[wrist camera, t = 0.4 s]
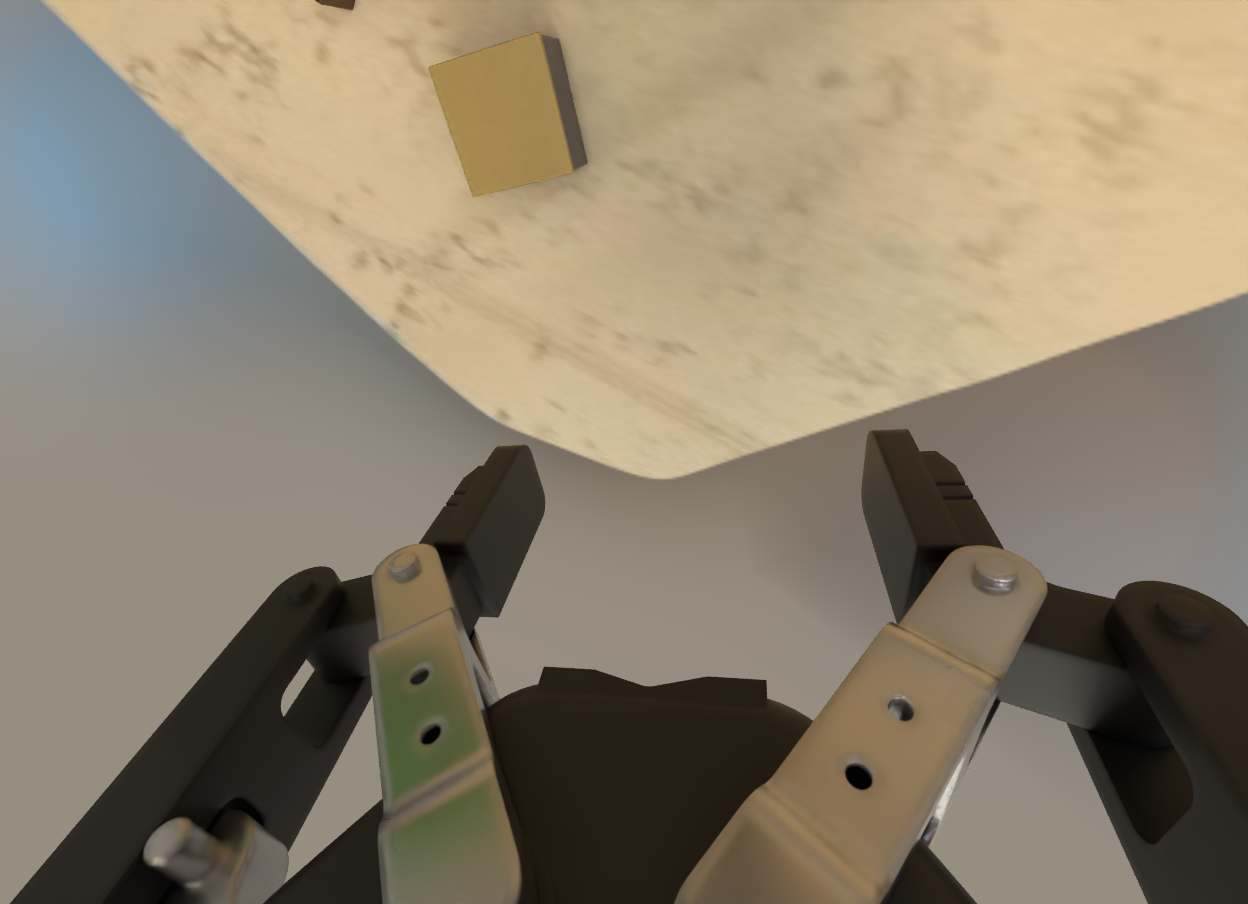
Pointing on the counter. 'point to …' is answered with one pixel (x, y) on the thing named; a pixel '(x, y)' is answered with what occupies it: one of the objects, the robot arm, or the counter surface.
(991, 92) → the counter surface
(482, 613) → the robot arm
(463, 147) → the tea tin
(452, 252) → the counter surface
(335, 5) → the corner guide
